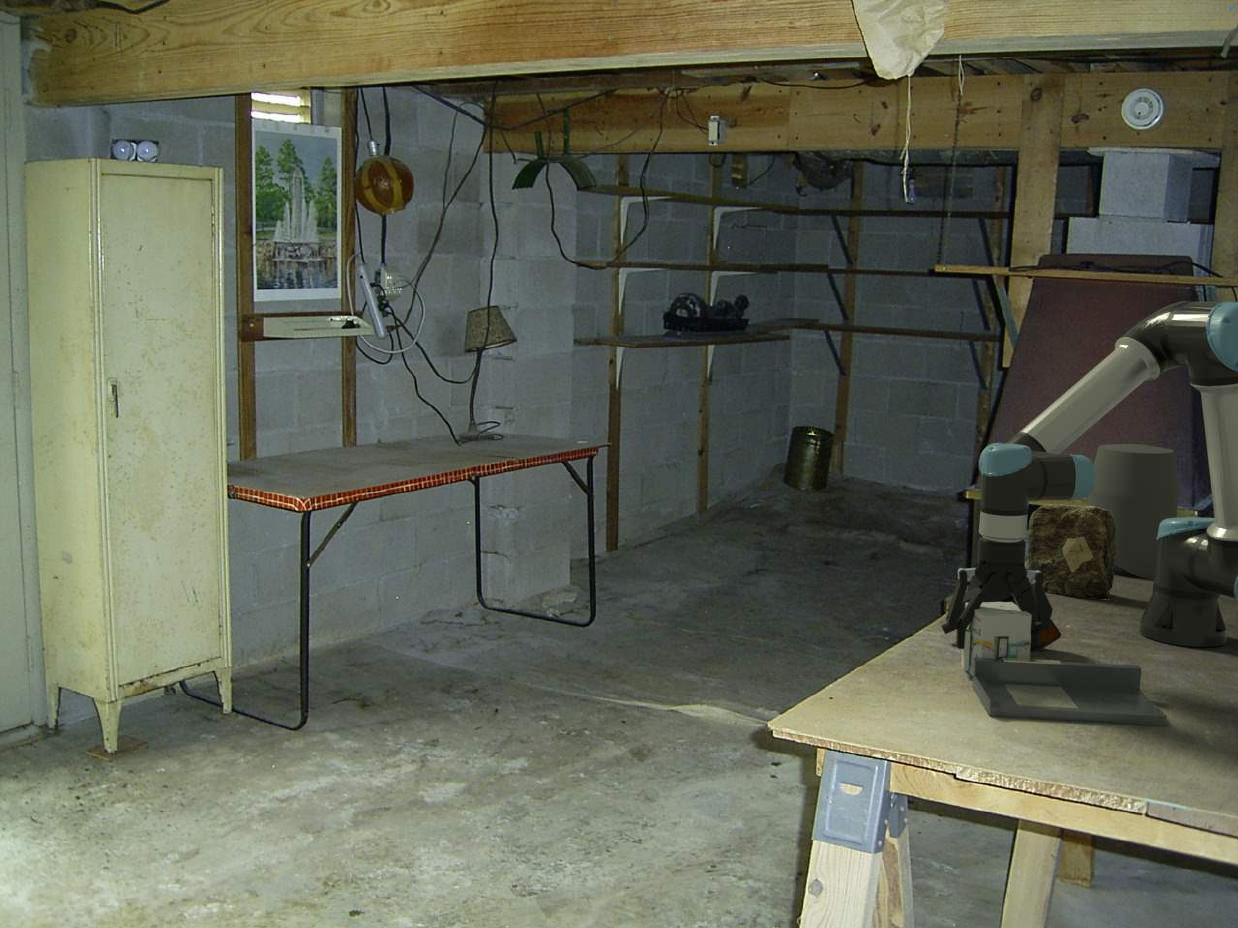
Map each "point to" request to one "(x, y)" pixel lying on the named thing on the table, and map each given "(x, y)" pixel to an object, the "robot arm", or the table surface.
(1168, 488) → the grey tapered cylinder
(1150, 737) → the table surface
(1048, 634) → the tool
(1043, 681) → the tray
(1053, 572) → the stone block
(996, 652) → the ink box
